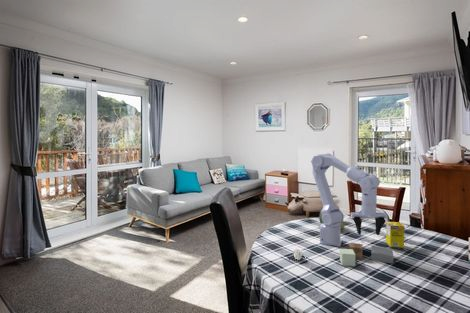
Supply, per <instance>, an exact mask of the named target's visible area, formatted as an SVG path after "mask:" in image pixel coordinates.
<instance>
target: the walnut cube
mask: <svg viewBox="0 0 470 313" xmlns="http://www.w3.org/2000/svg"><path fill="white" fill-rule="evenodd" d="M363 246H364V245H363V244H362V243H355V242H350V243H349V249H353V251H354V253H355V260H361V261H362V260H363V253H364V252H363Z"/></svg>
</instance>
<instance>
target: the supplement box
mask: <svg viewBox="0 0 470 313" xmlns="http://www.w3.org/2000/svg"><path fill="white" fill-rule="evenodd" d="M385 223H386V227H385V229H386V230H385V231H386V232H385V245H386V246H388V248H390V249H395V250H397V249H398V250H404V249H405V225H403V224H402V223H401V222H399V221H397V222H396V221H385Z"/></svg>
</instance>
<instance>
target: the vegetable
mask: <svg viewBox="0 0 470 313" xmlns="http://www.w3.org/2000/svg"><path fill="white" fill-rule="evenodd" d="M321 211H322V209H321V210H320V211H319V223H320V225H321V224H324V223H323V221H322V213H321ZM330 212H331V211H330ZM345 226H346V222H344V220H343V221H342V222H341V229H340V230H344V229H345Z"/></svg>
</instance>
